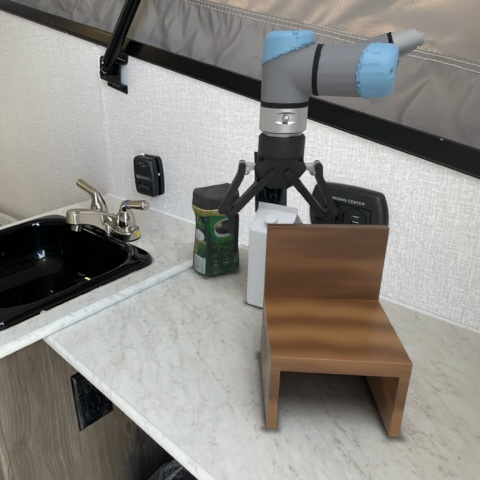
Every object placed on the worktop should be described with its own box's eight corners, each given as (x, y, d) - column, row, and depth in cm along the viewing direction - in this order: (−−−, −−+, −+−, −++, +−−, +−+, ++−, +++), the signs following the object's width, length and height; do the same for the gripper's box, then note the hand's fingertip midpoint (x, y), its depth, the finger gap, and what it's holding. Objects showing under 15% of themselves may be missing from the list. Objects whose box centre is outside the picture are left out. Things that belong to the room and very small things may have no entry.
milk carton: (262, 288, 98) (267, 196, 90) (297, 298, 94) (305, 202, 87) (246, 303, 93) (249, 207, 85) (282, 314, 89) (289, 214, 81)
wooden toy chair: (398, 437, 61) (429, 278, 53) (266, 428, 63) (276, 274, 55) (366, 359, 76) (387, 224, 67) (260, 353, 78) (267, 223, 70)
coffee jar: (225, 257, 112) (226, 177, 105) (244, 271, 105) (247, 186, 98) (187, 266, 108) (185, 184, 101) (204, 281, 101) (204, 194, 94)
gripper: (204, 137, 79) (203, 257, 88) (367, 137, 76) (350, 262, 84) (206, 128, 86) (205, 240, 94) (356, 128, 83) (341, 244, 91)
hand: (273, 251), depth 89 cm, fingers open, 13 cm apart
